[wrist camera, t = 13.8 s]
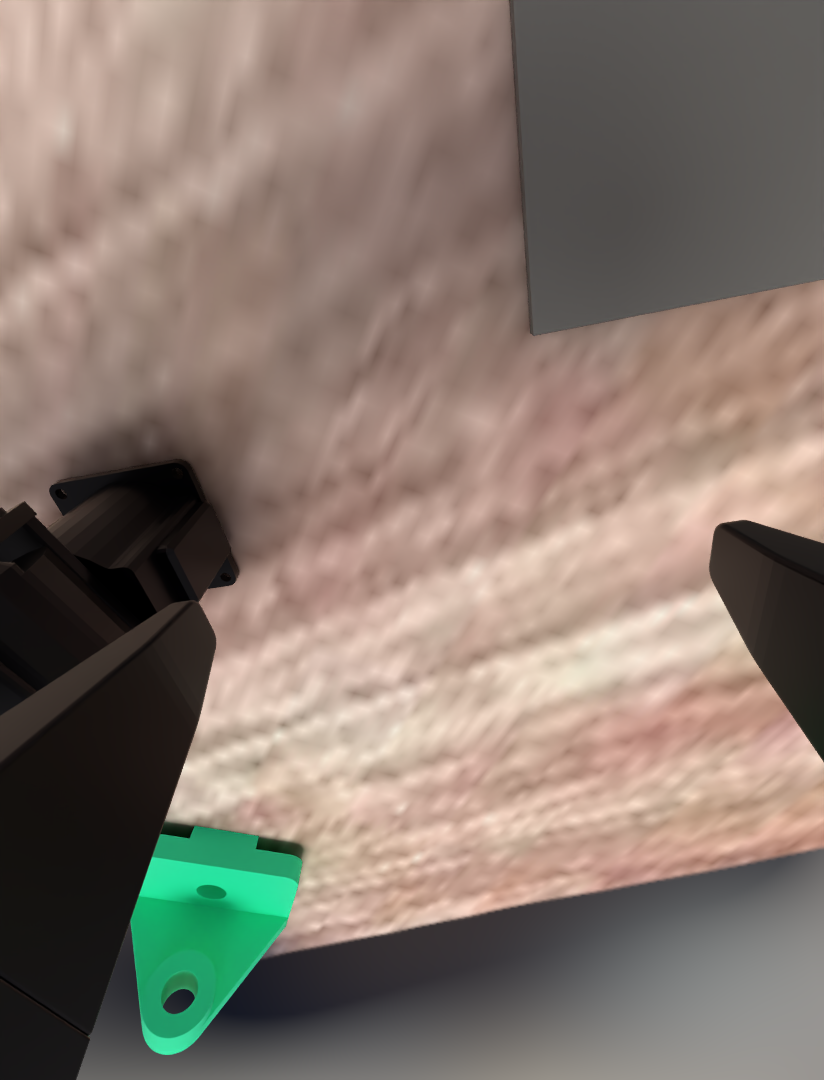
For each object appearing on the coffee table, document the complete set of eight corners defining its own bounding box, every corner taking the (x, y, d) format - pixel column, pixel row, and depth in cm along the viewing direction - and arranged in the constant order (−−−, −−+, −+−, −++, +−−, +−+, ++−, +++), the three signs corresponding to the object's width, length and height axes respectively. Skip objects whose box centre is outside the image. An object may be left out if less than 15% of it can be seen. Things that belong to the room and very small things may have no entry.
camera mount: (307, 841, 37) (271, 1025, 29) (293, 889, 41) (257, 1064, 32) (144, 814, 36) (53, 1000, 27) (145, 866, 40) (66, 1044, 31)
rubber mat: (530, 333, 19) (533, 335, 18) (495, -229, 12) (498, -251, 12) (973, 246, 17) (990, 247, 16) (1210, -461, 10) (1251, -498, 10)
